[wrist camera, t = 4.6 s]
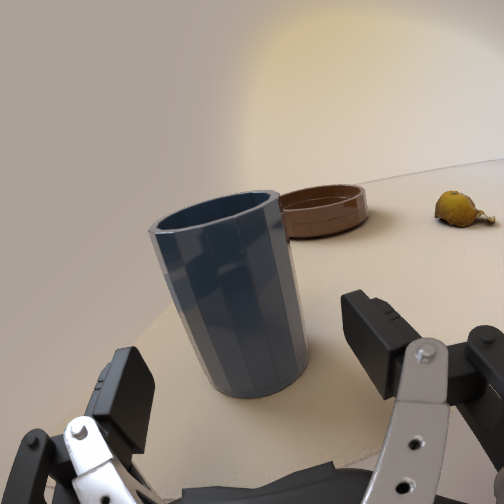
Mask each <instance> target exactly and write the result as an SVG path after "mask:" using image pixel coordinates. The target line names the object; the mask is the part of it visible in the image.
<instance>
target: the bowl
mask: <svg viewBox="0 0 504 504" xmlns="http://www.w3.org/2000/svg"><path fill="white" fill-rule="evenodd" d="M280 197H281V202H282V207H283V211H284V216H285V221H286V226H287V231H288V236H289V237H291V238H316V237H323V236H329V235H333V234H337V233H340V232H343V231H346V230H348V229H351V228H353V227H354V226H356V225H358V224H359V223H361V222H362V221H363V220H365V219H366V217H367V214H368V209H367V200H366V193H365V189H364V188H362V187H360V186H356V185H347V184H343V185H342V184H338V185H324V186H317V187H311V188H305V189H302V190H297V191H293V192H289V193H286V194H283V195H280Z"/></svg>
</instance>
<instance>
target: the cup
mask: <svg viewBox="0 0 504 504" xmlns="http://www.w3.org/2000/svg"><path fill="white" fill-rule="evenodd" d="M148 232H149V235H150V238H151V241H152V244H153V247H154V250H155V253H156V256H157V258H158V261H159V264H160V267H161V269H162V272H163V275H164V278H165V280H166V283H167V286H168V288H169V291H170V293H171V296H172V299H173V301H174V304H175V306H176V309H177V311H178V314H179V316H180V318H181V321H182V323H183V326H184V328H185V330H186V333H187V335H188V337H189V340H190V342H191V344H192V347H193V349H194V351H195V353H196V356H197V358H198V360H199V362H200V364H201V367H202V369H203V371H204V373H205V375H206V376H207V377H208V379H209V381H210V383H211V384H212V386H213V387H215V388H216V389H217V390H218V391H220V392H221V393H223V394H226V395H228V396H232V397H236V398H258V397H263V396H267V395H271V394H273V393H276V392H278V391H280V390H282V389H284V388H286V387H287V386H289V385H290V384H291V383H293V382H294V381H295V380H296V379H297V378H298V377H299V376H300V375H301V373H302V372H303V371H304V369H305V367H306V365H307V362H308V357H309V352H308V340H307V334H306V328H305V322H304V316H303V311H302V305H301V299H300V294H299V288H298V283H297V277H296V272H295V267H294V261H293V256H292V251H291V246H290V241H289V236H288V231H287V226H286V221H285V216H284V211H283V207H282V202H281V197H280V193H278V192H275V191H273V190H255V191H247V192H240V193H235V194H230V195H225V196H221V197H217V198H213V199H210V200H206V201H203V202H199V203H196V204H193V205H191V206H188V207H185V208H182V209H180V210H177V211H175V212H173V213H171V214H169V215H167V216H164V217H163V218H161V219H159V220H158V221H156V222H155V223H153V224H152V225H151V227H150V228H149V230H148Z"/></svg>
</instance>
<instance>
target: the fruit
mask: <svg viewBox="0 0 504 504" xmlns="http://www.w3.org/2000/svg"><path fill="white" fill-rule="evenodd" d="M481 214H483V215H485V213H484V211H482V210H477V209H476V208H475V204H474V203H473V201H472V200H471V198H469V197H468V196H466V195H464V194H462V193H459V192H457V191H447V192H445V193H444V194H443V195H442V196H441V197H440V198H439V200H438V202H437V203H436V207H435V218H439V217H441V218H442V219H444V220H446V221H447V222H448V223H449V224H450V225H453V224H455V225H457V226H462V227H465V226H466V225H471V224H473V222H474V220H475V218H477V217H479V216H480V215H481ZM485 216H486V215H485ZM486 217H487V216H486ZM487 219H488V220H489V224H490V223H494V222H495V217H494V216H493V218H491V217H487Z"/></svg>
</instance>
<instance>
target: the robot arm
mask: <svg viewBox="0 0 504 504" xmlns="http://www.w3.org/2000/svg"><path fill="white" fill-rule="evenodd" d="M341 309H342V321H343V331H344V335H345V338H346V341H347V343H348V344H349V346H350V347H351V349H352V350H353V352H354V354H355V355H356V357H357V358H358V360H359V361H360V363H361V365H362V366H363V368H364V369H365V371H366V372H367V374H368V376H369V377H370V379H371V380H372V382H373V384H374V385H375V387H376V388H377V390H378V392H379V393H380V395H381V396H382V398H383V400H387V399H389V398H391V397H393V396H394V397H395V399H396V400H395V403H394V406H393V410H392V414H391V418H390V422H389V425H388V429H387V432H386V436H385V439H384V442H383V445H382V449H381V452H380V455H379V458H378V461H377V464H376V466H375V469H374V472H373V471H370V470H364V469H354V468H342V469H335V466H334V464H333V461H331V462H328V463H325V464H321V465H318V466H315V467H311V468H308V469H304V470H300V471H296V472H294V473H292V474H290V475H287V476H285V477H283V478H281V479H279V480H276V481H274V482H272V483H270V484H267V485H265V486H263V487H260V488H256V489H249V488H233V487H222V486H212V487H201V488H186V489H182V498H180V499H177V500H174V501H172V502H170V503H168V504H467V503H463V502H460V501H456V500H452V499H449V498H445V497H442V496H439V495H436V491H437V487H438V482H439V478H440V473H441V469H442V463H443V458H444V452H445V446H446V440H447V432H448V424H449V414H450V406H453V405H455V406H456V407H457V409H458V410H459V412H460V413H461V415H462V416H463V418H464V419H465V421H466V422H467V424H468V425H469V427H470V428H471V430H472V431H473V433H474V434H475V436H476V437H477V439H478V441H479V442H480V444H481V445H482V447H483V449H484V450H485V452H486V453H487V455H488V457H489V458H490V460H491V461H492V463H493V465H494V467H495V468H496V470H497V472H498V474H497V475H496V478H495V481H494V495H495V497H496V499H497V500H496V504H504V334H503V333H502V332H501V331H500V330H499V329H497V328H495V327H493V326H488V325H482V326H478V327H475V328H474V329H472V330H471V332H470V333H469V336H468V340H467V342H463V343H459V344H454V345H450V346H446V345H445V344H444V343H442V342H441V341H439V340H437V339H434V338H422V337H421V336H420V335H419V334H418V333H417V332H416V331H415V330H414V329H413V328H412V327H411V326H410V325H409V324H408V322H407V321H406V320H405V319H404V318H403V317H401V315H399V314H398V313H397V312H396V311H395V310H394V309H393V308H392V307H391V306H390V305H389V304H388V303H387V302H385V301H383V300H380V299H378V298H373V299H370V298H369V297H368V296H367V295H366V294H365V293H364V292H363V291H362V290H356V291H353V292H350V293H347V294H344V295H342V296H341ZM97 382H98V383H96V386H95V388H94V389H95V391H93V393H92V396H91V398H90V401H89V403H88V406H87V409H86V411H85V414H84V416H81V417H78V418H75V419H74V420H72V421H71V422H70V423H69V424H68V425H67V426H66V428H65V430H64V434H61V435H58V436H54V437H49V436H48V435H47V434H46V433H45V432H44V431H43V430H42V429H33V430H31V431H29V432H28V433H27V434H26V435H25V436H24V437H23V439H22V441H21V444H20V447H19V449H18V452H17V455H16V457H15V461H14V463H13V466H12V469H11V472H10V475H9V478H8V481H7V485H6V488H5V491H4V495H3V498H2V503H1V504H47V503H46V501H45V498H44V490H45V487H46V482H47V478H48V475H49V476H50V477H51V478H52V479H54V480H55V481H56V486H55V490H54V495H53V500H52V504H167V503H166V502H164V501H163V500H162V499H161V498H160V497H159V496H158V494H157V493H156V492H155V491H154V489H153V488H152V487H151V485H150V484H149V483H148V481H147V480H146V479H145V477H144V476H143V474H142V473H141V472H140V470H139V469H138V467H137V466H136V464H135V463H134V462H133V461H132V460H131V459H132V454H144V450H145V443H146V437H147V431H148V424H149V419H150V413H151V407H152V402H153V396H154V391H155V382H154V378H153V376H152V374H151V372H150V370H149V368H148V367H147V365H146V363H145V361H144V360H143V358H142V356H141V354H140V352H139V350H138V349H137V348H136V347H134V346H132V347H127V348H122V349H117V350H116V351H115V354H114V356H113V359H112V361H111V363H108V364H107V366H106V367H105V368H104V369H103V370H102V371H101V374H100V376H99V378H98V381H97ZM489 384H490V385H491V386H492V387H493V388H492V387H491V386H490V385H489ZM493 389H494V390H495V391H496V392H497V393H498V395H499V396H500V397H501V398H500V397H499V396H498V395H497V393H496V392H495V391H494V390H493ZM501 399H502V400H501Z"/></svg>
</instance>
